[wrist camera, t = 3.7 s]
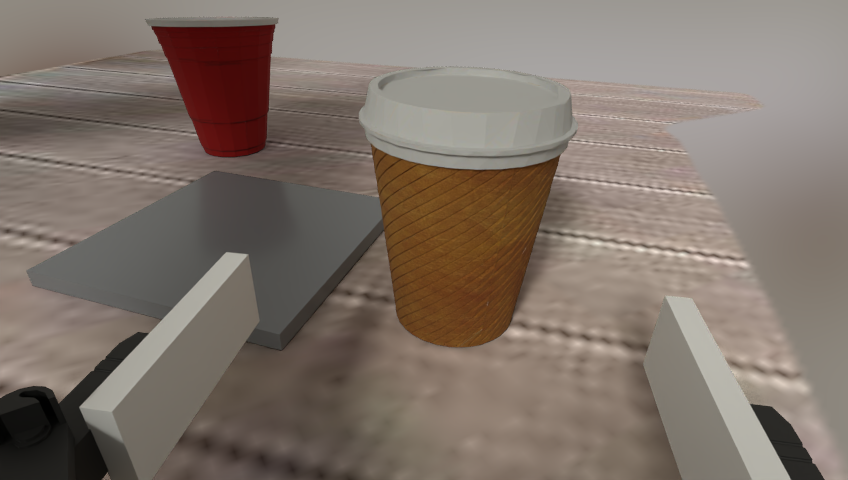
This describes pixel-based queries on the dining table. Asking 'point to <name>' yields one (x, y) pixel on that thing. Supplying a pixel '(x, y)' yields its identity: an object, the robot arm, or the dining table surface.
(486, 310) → the disposable coffee cup
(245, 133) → the plastic cup
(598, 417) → the dining table surface
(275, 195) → the slate board
